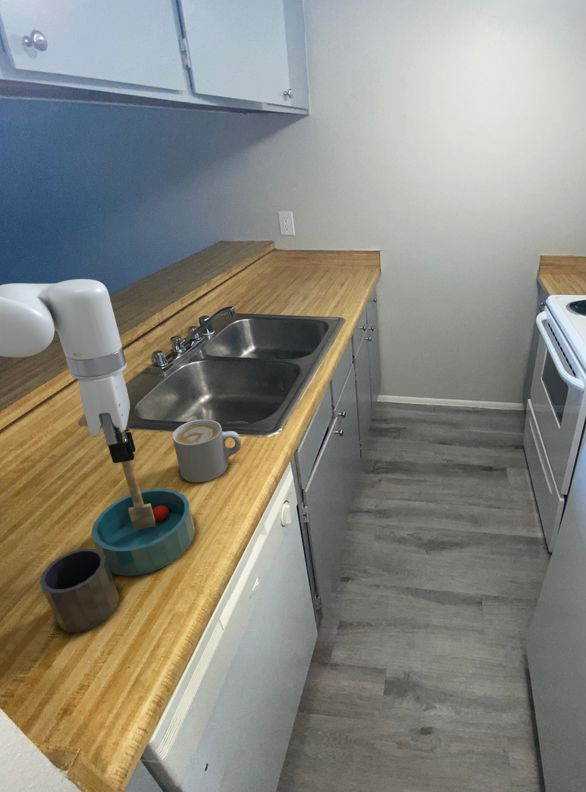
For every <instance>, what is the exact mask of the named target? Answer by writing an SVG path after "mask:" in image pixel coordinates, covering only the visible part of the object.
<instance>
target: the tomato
mask: <svg viewBox="0 0 586 792" xmlns="http://www.w3.org/2000/svg"><path fill="white" fill-rule="evenodd" d="M153 514H154V518H155V520H156V521H163V520H165V519H166V518H167V517H168V515H169V510H168V508H167V507H166V506H163V505H160V506H157V507H155V508H154V509H153Z"/></svg>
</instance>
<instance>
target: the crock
mask: <svg viewBox="0 0 586 792" xmlns="http://www.w3.org/2000/svg"><path fill="white" fill-rule="evenodd" d="M39 584H40V587H41V590H42V591H43V593H44V596H45V598H46V600H47V602H48V604H49V606H50V608H51V610H52V613H53V614H54V617H55V619H56V621H57V623H58V625H59V626H60V628H61V629H62V630H63V631H65V632H67V633H82V632H87V631H89V630H91V629H93V628H95V627H97V626H99V625H101V624H102V623H103V622H105V621H106V620H107V619H108V618H109V617H111V615H112V614H113V613H114V612H115V610H116V609H117V607H118V604H119V601H120V600H119V598H120V595H119V592H118V588H117V586H116V584H115V580H114V578H113V576H112V572H110V570H109V567H108V564H107V561H106V559H105V556H104V555H103V553H102V552H101V551H99V550H97V548H94V547H93V548H91V547H90V548H89V547H84V548H79V549H74V550H71V551H69V552H67V553H64V554H62V555H61V556H58V557H57V558H56V559H54V560H53V561H52V562H51V563H49V564H48V566H47V567H46V568H45V570H43V572H42V573H41V576H40V579H39Z"/></svg>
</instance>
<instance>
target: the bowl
mask: <svg viewBox="0 0 586 792" xmlns="http://www.w3.org/2000/svg"><path fill="white" fill-rule="evenodd" d="M140 492H141V495H142V499H143V502H144V505H145V504H151V507H152V511H153V509H154V508H155V507H157V506H160V505H163V506H166V507H167V508H168V510H169V515H168V517H167V518H166V519H165V520H163V521H156V520H155V522H156V526H153V527H149V528H144V529H140V530H136V531H134V528H133V524H132V521H131V518H130V514H129V511H128V510H129V508H131V507H134V504H133V501H132V498H131V494H127V495H125V496H123V497H121V498H120V499H118V500H117V501H114V502H113V503H111V504H110V505H109V506H107V507H106V508H105V509H104V510H103V511H102V512H100V514H99V515H98V517H97V518H96V519H95V521H94V523H93V524H92V528H91V529H92V530H91V537H92V539H93V542H94V544H95V549H97V550H99V551H101V552H102V553H103V555H104V556H105V559H106V561H107V564H108V567H109V570H110V572H111V574H115V575H119V576H124V577H132V576H141V575H146V574H151V573H154V572H155V571H158V570H161V569H162V568H163V569H164V568H165V567H167V566H168V565H170V564H172V563H173V562H175V561H176V560H177V559H178V558H180V557H181V556H182V555H183V554H184V553H185V552H186V551H187V550H188V548H189V547H190V545H191V544H192V542H193V540H194V536H195V530H196V529H195V522H194V518H193V513H192V509H191V505H190V502H189V500H188V498H187V496H185V494H183V493H181V492H179V491H178V490H175V489H171V488H148V489H144V490H140Z"/></svg>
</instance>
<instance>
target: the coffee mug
mask: <svg viewBox="0 0 586 792" xmlns="http://www.w3.org/2000/svg"><path fill="white" fill-rule="evenodd" d="M228 439H233V441H234V446H231V447H228V446H227V445H226V441H227V440H228ZM172 441H173V446H174V450H175V455H176V459H177V463H178V467H179V468H178V469H179V472H180V476H181V478H182V479H183V480H185V481H187V482H190V483H204V482H209V481H212V480H214V479H217V478H219V477H220V476H221V475H223V474H224V473H225V472H226V470H227V468H228V466H229V465H228V464H229V463H228V459H229V458H230V457H231V456H233V455H236V454H237V453H238V452H239V451H240V450H241V447H242V441H241V436H240V435H239V434H238V432H236V431H232V430H229V431H228V430H227V431H223V428H222V426H221V424H220V422H217V421H215V420H212V419H196V420H192V421H188V422H185V423H183V424H181V425H179V426H178V427H177V428H176V429H175V430H174V431H173V432H172Z"/></svg>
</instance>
